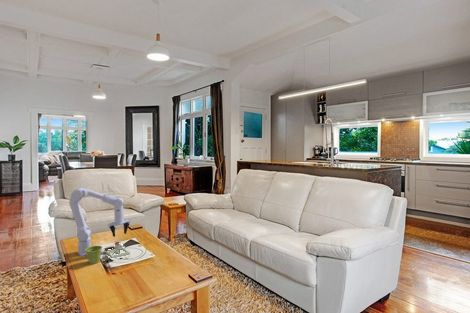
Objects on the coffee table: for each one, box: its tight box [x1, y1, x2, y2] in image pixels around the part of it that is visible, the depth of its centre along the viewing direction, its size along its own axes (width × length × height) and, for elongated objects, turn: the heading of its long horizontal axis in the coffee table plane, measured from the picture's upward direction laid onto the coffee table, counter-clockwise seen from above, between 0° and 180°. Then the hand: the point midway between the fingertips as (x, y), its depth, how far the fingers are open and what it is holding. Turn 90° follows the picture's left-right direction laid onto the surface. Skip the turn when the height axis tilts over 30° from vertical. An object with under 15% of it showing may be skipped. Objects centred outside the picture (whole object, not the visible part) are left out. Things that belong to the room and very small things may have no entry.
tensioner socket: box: [103, 245, 115, 252], centre depth 191 cm, size 6×6×2 cm
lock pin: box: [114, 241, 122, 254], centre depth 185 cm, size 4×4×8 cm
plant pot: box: [85, 245, 103, 265], centre depth 175 cm, size 9×9×9 cm
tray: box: [106, 247, 131, 258], centre depth 184 cm, size 11×11×3 cm
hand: (119, 235), depth 194 cm, fingers open, 7 cm apart
